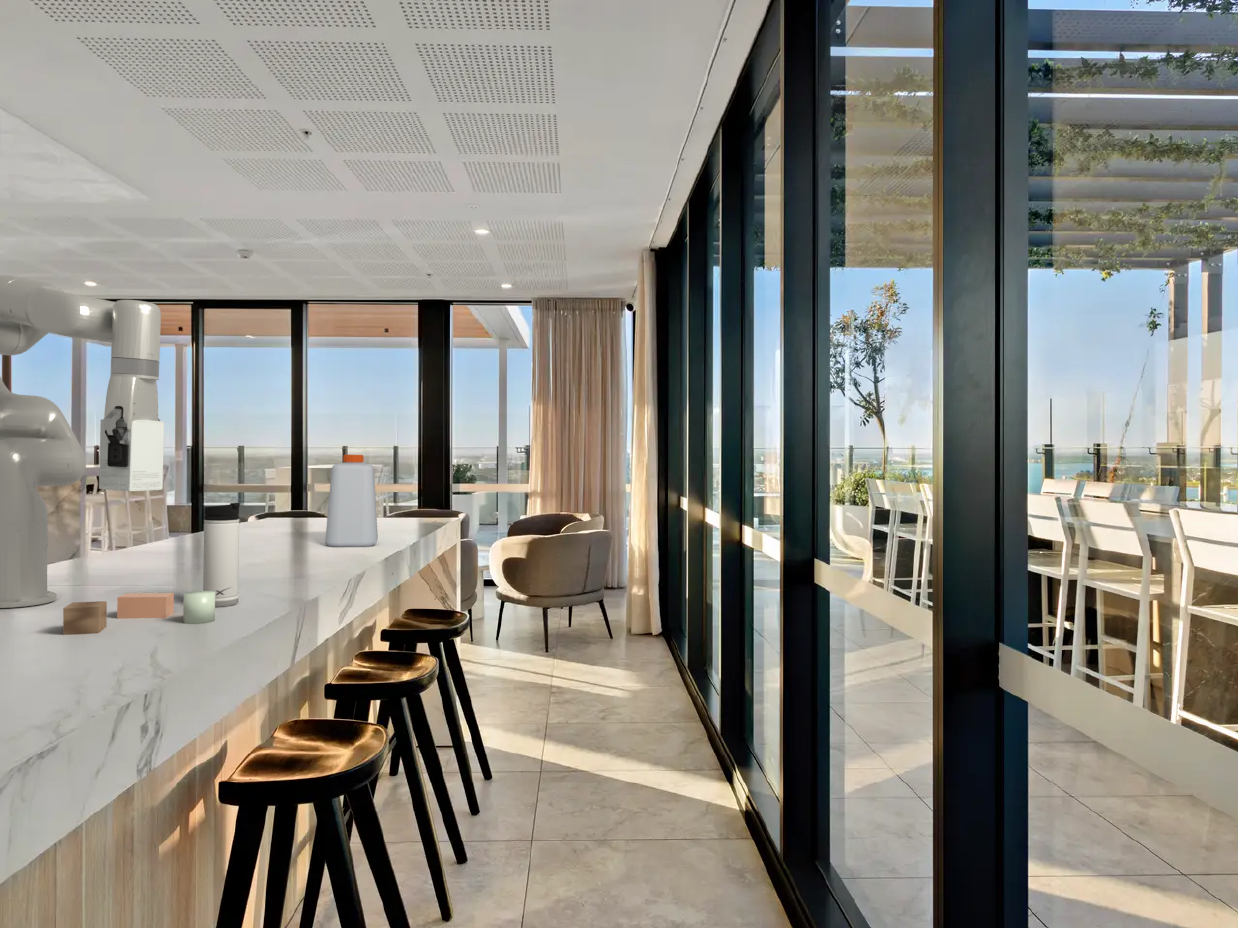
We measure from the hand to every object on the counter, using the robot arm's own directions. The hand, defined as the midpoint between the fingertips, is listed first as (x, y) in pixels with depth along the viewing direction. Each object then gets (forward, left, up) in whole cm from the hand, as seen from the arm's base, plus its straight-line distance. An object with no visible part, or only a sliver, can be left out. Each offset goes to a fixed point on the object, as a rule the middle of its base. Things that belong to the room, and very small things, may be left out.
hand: (132, 465), depth 148 cm
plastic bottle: (+14, +107, -27) cm, 111 cm away
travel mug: (+12, +11, -27) cm, 32 cm away
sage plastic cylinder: (+14, -4, -27) cm, 31 cm away
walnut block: (-1, -12, -27) cm, 30 cm away
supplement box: (0, 0, -5) cm, 5 cm away
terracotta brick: (+3, 0, -27) cm, 28 cm away
